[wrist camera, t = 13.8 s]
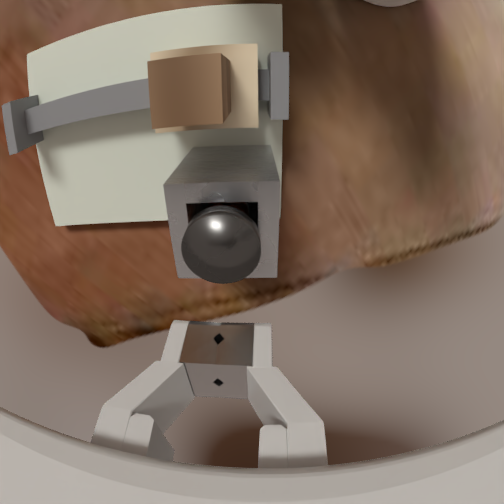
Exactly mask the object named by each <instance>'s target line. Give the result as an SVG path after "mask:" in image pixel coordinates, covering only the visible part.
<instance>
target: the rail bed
mask: <svg viewBox="0 0 504 504" xmlns="http://www.w3.org/2000/svg"><path fill="white" fill-rule="evenodd" d="M225 44H257V45H258V128H223V129H203V130H188V131H176V132H165V133H156V132H155V129H152V124H151V112H150V100H149V85H148V68H147V61H150V53H153V52H159V51H165V50H172V49H180V48H188V47H198V46H210V45H225ZM27 69H28V85H29V96H30V97H26V98H22V99H18V100H15V101H11V102H8V103H6V104H4V105H2V111H3V119H4V126H5V133H6V139H7V144H8V150H9V155H12V154H15V153H18V152H20V151H22V150H24V149H26V148H28V147H30V146H32V145H34V144H36V147H37V152H38V157H39V162H40V167H41V171H42V176H43V180H44V185H45V189H46V193H47V196H48V200H49V204H50V208H51V211H52V215H53V218H54V221H55V225H56V226H64V225H80V224H98V223H117V222H139V221H164V220H168V215H167V209H166V202H165V195H164V187H163V184H164V183H165V182H166V180H167V179H168V178H169V177H170V175H171V174H172V173H173V171H174V170H175V169H176V168H177V166H178V165H179V164H180V163H181V161H182V160H183V159H184V158H185V156H186V155H187V154H188V153H189V151H190V150H191V149H192V148H193V147H205V146H229V145H271V148H272V152H273V156H274V159H275V163H276V167H277V171H278V175H279V179H280V208H279V218H280V216H281V181H282V127H283V120H289V52H283V33H282V4H229V5H214V6H203V7H193V8H185V9H178V10H171V11H165V12H159V13H154V14H149V15H144V16H139V17H135V18H130V19H126V20H122V21H118V22H114V23H111V24H107V25H104V26H100V27H97V28H94V29H91V30H87V31H84V32H81V33H78V34H76V35H73V36H70V37H67V38H65V39H62V40H59V41H57V42H54V43H52V44H49V45H47V46H45V47H42V48H40V49H38V50H35V51H33V52H31V53H29V54H27ZM249 203H257V202H249Z"/></svg>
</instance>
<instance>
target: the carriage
mask: <svg viewBox="0 0 504 504" xmlns="http://www.w3.org/2000/svg"><path fill="white" fill-rule="evenodd" d="M147 68H148V85H149V100H150V112H151V124H152V129H155V132H156V133H165V132H176V131H188V130H203V129H223V128H258V45H257V44H225V45H210V46H198V47H188V48H180V49H172V50H165V51H159V52H153V53H150V61H147Z"/></svg>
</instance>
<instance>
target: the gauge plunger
mask: <svg viewBox="0 0 504 504" xmlns="http://www.w3.org/2000/svg"><path fill="white" fill-rule="evenodd" d="M181 252H182V257H183V259H184V261H185V263H186V265H187V266H188V268H189V269H190V270H191V271H192V272H193V273H194V274H196V275H197V276H199V277H200V278H202V279H204V280H207V281H209V282H213V283H222V284H225V283H233V282H237V281H239V280H242V279H244V278H246V277H247V276H248V275H250V274H251V273H252V272H253V271H254V270H255V268H256V267H257V265H258V263H259V261H260V257H261V239H260V232H259V229H258V227H257V225H256V223H255V222H254V221H253V219H252V218H251V217H250V216H249V202H215V203H208V205H207V208H206V209H204V210H202V211H200V212H199V213H197V214H196V215H195V216H194V217H193V218H192V219H191V220H190V222H189V224H188V226H187V229H186V231H185V234H184V236H183V239H182V243H181Z"/></svg>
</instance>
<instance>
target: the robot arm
mask: <svg viewBox="0 0 504 504" xmlns="http://www.w3.org/2000/svg"><path fill="white" fill-rule="evenodd" d="M194 396H201V397H222V398H236V399H248V400H249V402H250V404H251V405H252V407H253V408H254V410H255V412H256V413H257V415H258V417H259V418H260V420H261V421H262V423H263V425H264V426H263V427H262V428H261V429H260V440H259V463H258V468H233V467H232V468H231V467H218V466H207V465H197V464H189V463H181V462H175V461H173V456H174V449H173V448H172V446H171V445H170V443H169V442H168V441H167V439H166V437H165V436H164V435H163V433H164V432H165V431H166V430H167V429H168V428H169V427H170V426H171V424H172V423H173V422H174V421H175V420H176V419H177V417H178V416H179V415H180V414H181V413H182V412H183V411H184V409H185V408H186V407H187V406H188V405H189V404H190V403H191V401H192V400H193V399H194ZM0 504H504V420H503V421H501V422H498V423H496V424H494V425H491V426H489V427H487V428H484V429H481V430H479V431H476V432H473V433H471V434H468V435H465V436H462V437H460V438H456V439H454V440H451V441H447V442H444V443H441V444H438V445H434V446H430V447H427V448H423V449H419V450H415V451H411V452H407V453H403V454H399V455H394V456H389V457H384V458H379V459H373V460H367V461H361V462H354V463H346V464H338V465H328V463H327V452H326V441H325V431H324V422H323V421H322V420H321V418H320V417H319V416H318V415H317V414H316V413H315V411H314V410H313V409H312V408H311V407H310V406H309V404H308V403H307V402H306V401H305V400H304V398H303V397H302V396H301V395H300V394H299V393H298V391H297V390H296V389H295V388H294V387H293V385H292V384H291V383H290V382H289V380H288V379H287V378H286V377H285V375H284V374H283V373H282V372H281V371H280V369H279V368H278V367H273V365H272V325H271V323H255V325H254V323H214V322H199V321H182V320H174V321H173V323H172V324H171V328H170V331H169V334H168V338H167V341H166V344H165V348H164V351H163V354H162V358H161V361H155V362H154V363H153V364H152V365H150V366H149V367H148V368H147V369H146V370H144V371H143V372H142V373H141V374H140V375H139V376H137V377H136V378H135V379H134V380H133V381H131V382H130V383H129V384H128V385H127V386H125V387H124V388H123V389H122V390H121V391H119V392H118V393H117V394H116V395H115V396H113V397H112V398H111V399H110V400H108V401H107V402H106V403H105V404H104V405H103V406H102V410H101V412H100V415H99V418H98V421H97V424H96V427H95V431H94V434H93V436H92V440H91V443H89V442H86V441H83V440H80V439H77V438H74V437H71V436H68V435H65V434H62V433H60V432H57V431H54V430H51V429H49V428H46V427H44V426H41V425H39V424H36V423H34V422H32V421H29V420H27V419H25V418H23V417H20V416H18V415H16V414H14V413H12V412H10V411H8V410H6V409H4V408H1V407H0Z"/></svg>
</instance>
